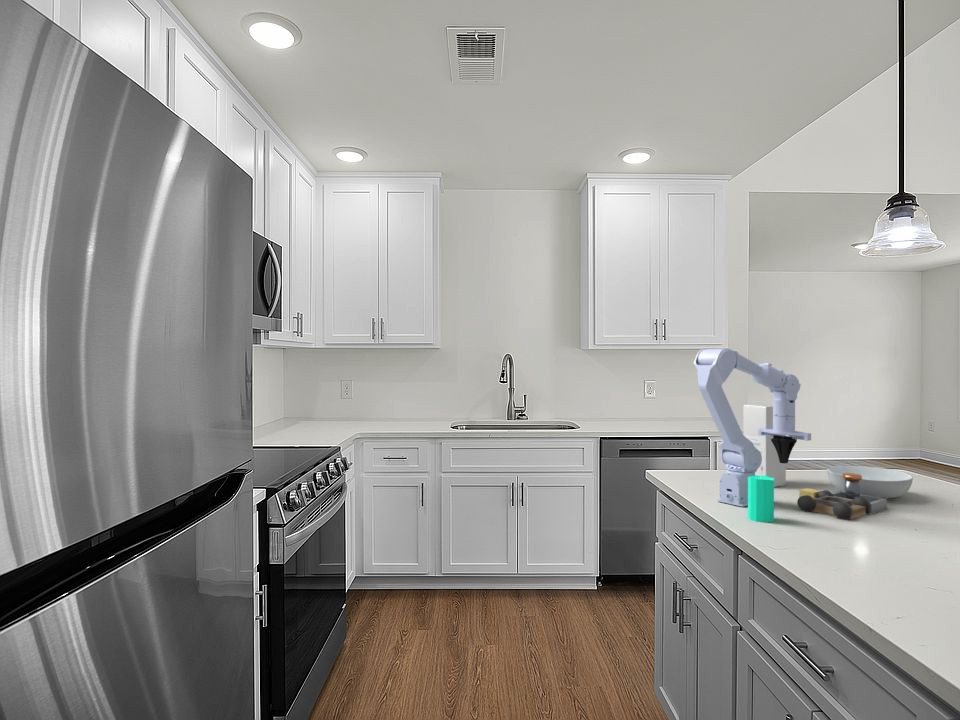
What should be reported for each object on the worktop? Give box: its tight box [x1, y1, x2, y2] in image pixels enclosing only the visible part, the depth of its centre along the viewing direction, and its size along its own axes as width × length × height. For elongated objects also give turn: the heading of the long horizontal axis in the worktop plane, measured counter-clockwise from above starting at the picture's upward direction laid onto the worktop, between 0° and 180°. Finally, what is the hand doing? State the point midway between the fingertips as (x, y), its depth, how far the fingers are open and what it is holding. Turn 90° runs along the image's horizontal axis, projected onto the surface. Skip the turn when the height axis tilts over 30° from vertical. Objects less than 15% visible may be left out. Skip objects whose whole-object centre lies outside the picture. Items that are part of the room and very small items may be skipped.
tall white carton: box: [742, 403, 787, 488], centre depth 191 cm, size 9×9×25 cm
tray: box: [831, 490, 888, 515], centre depth 164 cm, size 9×12×2 cm
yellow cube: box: [798, 487, 821, 499], centre depth 168 cm, size 4×4×4 cm
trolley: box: [796, 489, 871, 520], centre depth 158 cm, size 13×11×4 cm
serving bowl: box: [827, 465, 914, 499], centre depth 176 cm, size 21×21×7 cm
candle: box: [747, 475, 775, 523], centre depth 151 cm, size 6×6×12 cm
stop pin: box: [843, 473, 862, 500], centre depth 163 cm, size 4×4×8 cm
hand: (783, 462), depth 174 cm, fingers closed
